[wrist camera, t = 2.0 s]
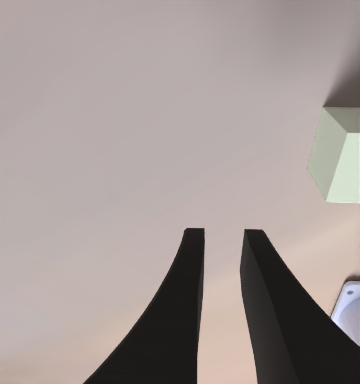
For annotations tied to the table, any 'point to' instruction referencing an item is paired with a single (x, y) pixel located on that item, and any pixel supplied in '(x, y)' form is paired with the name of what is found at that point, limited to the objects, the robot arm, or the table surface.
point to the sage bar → (337, 155)
